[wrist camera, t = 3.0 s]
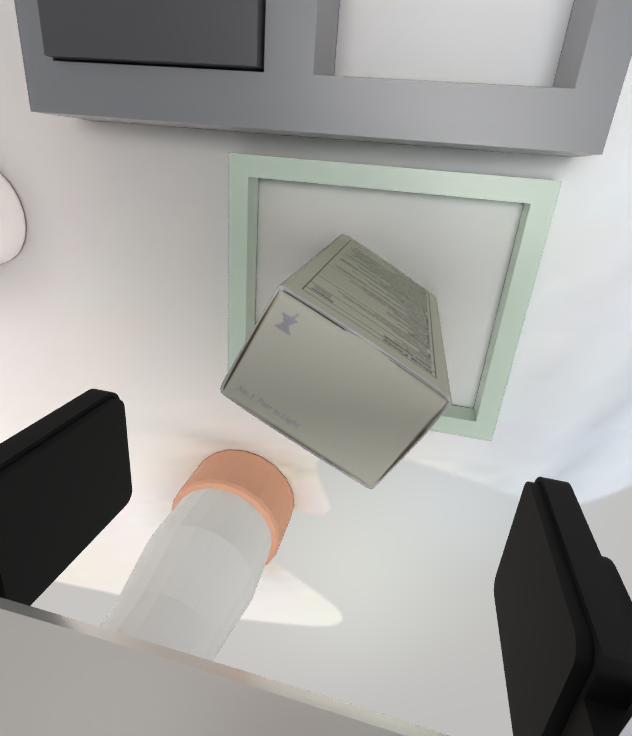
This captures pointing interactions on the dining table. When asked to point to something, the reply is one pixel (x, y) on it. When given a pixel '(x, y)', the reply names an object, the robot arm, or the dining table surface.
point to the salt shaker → (206, 556)
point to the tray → (529, 191)
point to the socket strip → (305, 76)
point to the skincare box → (346, 362)
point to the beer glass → (10, 222)
